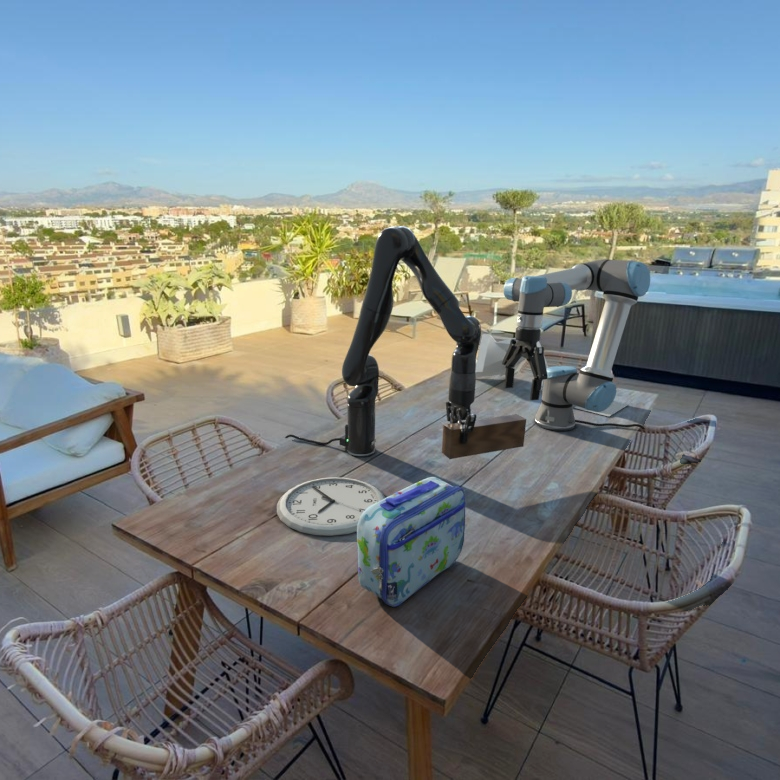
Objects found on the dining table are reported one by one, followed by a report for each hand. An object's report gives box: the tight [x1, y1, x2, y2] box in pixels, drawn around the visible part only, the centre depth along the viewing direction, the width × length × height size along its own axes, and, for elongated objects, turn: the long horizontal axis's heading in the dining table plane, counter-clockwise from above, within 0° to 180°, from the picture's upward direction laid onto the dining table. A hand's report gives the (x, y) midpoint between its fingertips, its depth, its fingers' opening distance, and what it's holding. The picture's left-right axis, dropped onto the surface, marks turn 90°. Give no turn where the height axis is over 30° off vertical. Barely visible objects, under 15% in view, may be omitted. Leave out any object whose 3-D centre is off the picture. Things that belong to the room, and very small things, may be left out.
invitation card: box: [573, 400, 629, 418], centre depth 226 cm, size 21×1×15 cm
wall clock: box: [276, 476, 386, 537], centre depth 142 cm, size 30×2×30 cm
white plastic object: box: [475, 333, 549, 392], centre depth 257 cm, size 37×45×31 cm
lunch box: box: [356, 476, 466, 608], centre depth 110 cm, size 26×11×21 cm, turn 134°
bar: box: [441, 413, 527, 460], centre depth 160 cm, size 26×5×9 cm, turn 113°
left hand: (458, 439), depth 156 cm, fingers closed on bar, 5 cm apart
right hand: (521, 393), depth 167 cm, fingers open, 13 cm apart
